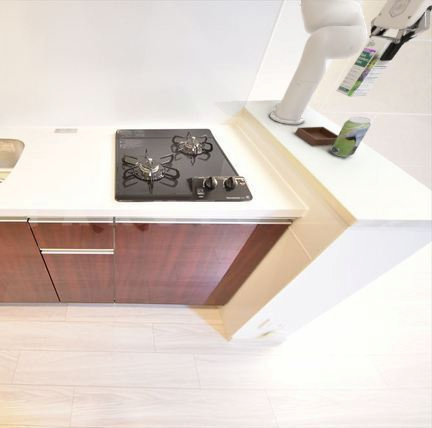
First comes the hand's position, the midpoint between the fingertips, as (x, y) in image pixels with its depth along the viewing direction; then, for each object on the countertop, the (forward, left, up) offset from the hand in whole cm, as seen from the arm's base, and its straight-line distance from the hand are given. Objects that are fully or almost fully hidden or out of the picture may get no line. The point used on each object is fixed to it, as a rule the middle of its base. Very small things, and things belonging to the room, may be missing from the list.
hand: (375, 57), depth 66 cm
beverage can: (+9, +1, -27) cm, 28 cm away
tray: (-2, +1, -27) cm, 27 cm away
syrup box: (0, 0, -10) cm, 10 cm away
